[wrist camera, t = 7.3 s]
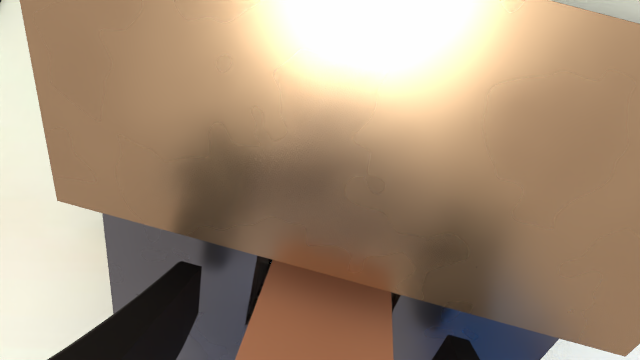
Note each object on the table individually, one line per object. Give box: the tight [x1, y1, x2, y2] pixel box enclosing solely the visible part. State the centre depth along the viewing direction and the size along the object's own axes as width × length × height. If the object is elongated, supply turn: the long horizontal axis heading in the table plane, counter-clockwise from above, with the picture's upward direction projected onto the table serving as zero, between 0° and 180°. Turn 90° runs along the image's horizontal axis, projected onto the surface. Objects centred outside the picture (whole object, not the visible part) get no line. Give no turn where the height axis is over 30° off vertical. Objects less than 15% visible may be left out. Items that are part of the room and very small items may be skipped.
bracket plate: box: [20, 0, 640, 360], centre depth 12 cm, size 18×14×5 cm
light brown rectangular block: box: [235, 260, 393, 360], centre depth 11 cm, size 3×3×7 cm
